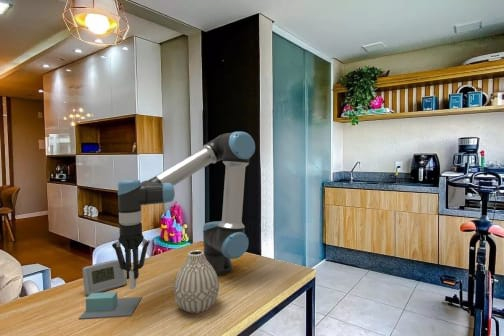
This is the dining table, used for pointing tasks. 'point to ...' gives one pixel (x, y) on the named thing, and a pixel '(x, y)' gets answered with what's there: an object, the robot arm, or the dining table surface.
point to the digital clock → (103, 277)
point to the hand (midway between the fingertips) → (133, 287)
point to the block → (101, 301)
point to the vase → (196, 284)
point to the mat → (115, 309)
